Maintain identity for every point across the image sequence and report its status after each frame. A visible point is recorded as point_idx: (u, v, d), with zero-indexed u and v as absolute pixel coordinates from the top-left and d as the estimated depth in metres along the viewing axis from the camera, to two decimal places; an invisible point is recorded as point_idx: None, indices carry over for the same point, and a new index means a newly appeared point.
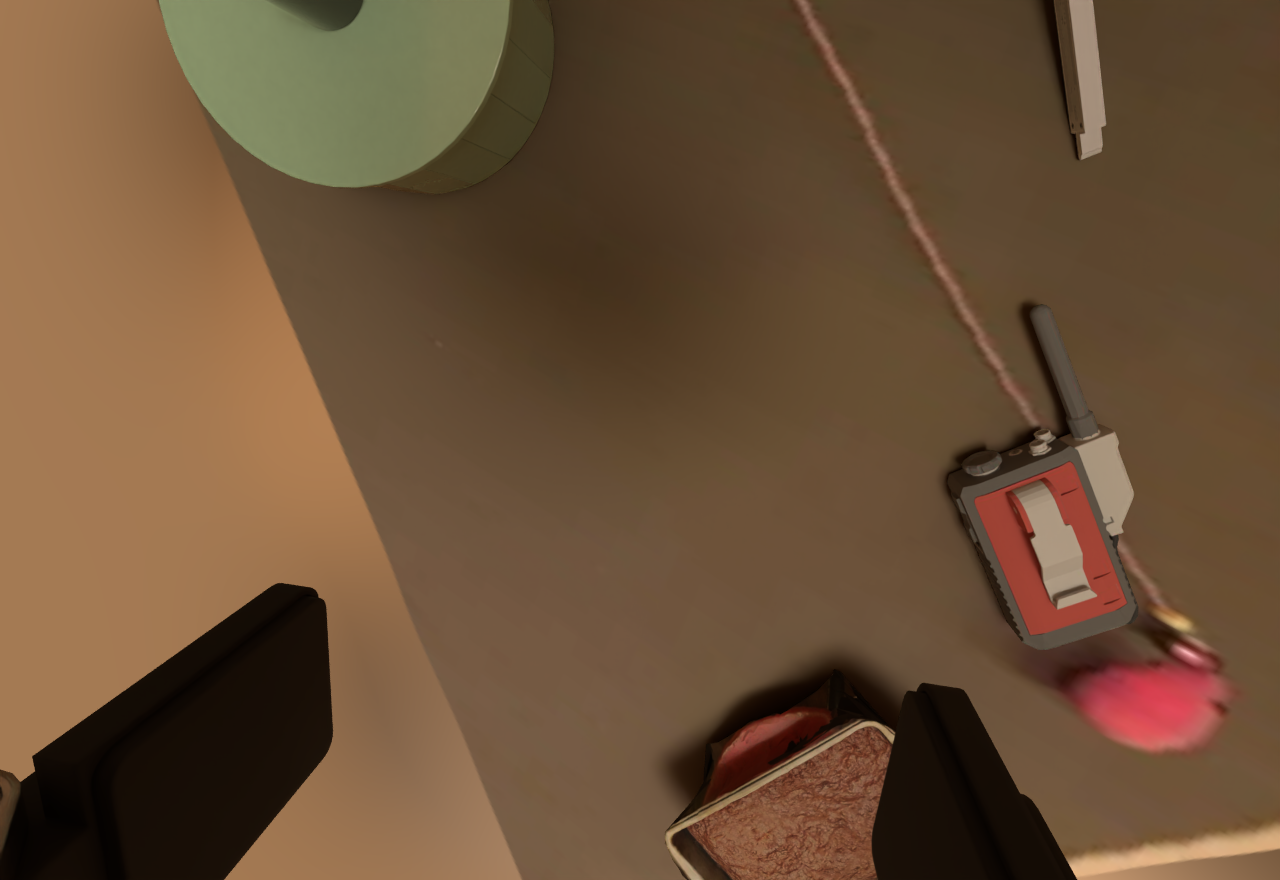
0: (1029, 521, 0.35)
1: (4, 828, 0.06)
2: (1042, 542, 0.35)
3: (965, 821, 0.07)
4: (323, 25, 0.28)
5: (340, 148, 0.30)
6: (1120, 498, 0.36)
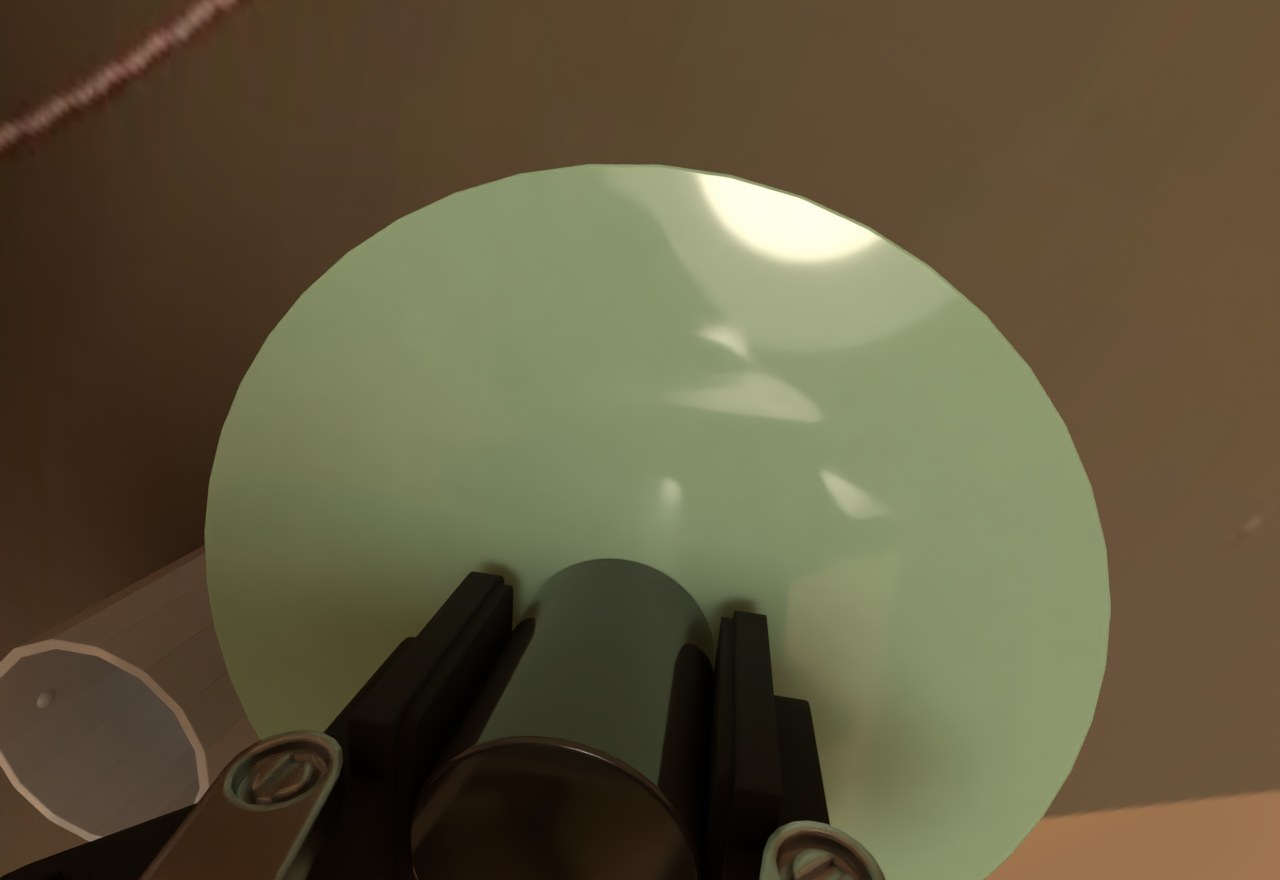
0: None
1: (317, 805, 0.07)
2: None
3: (722, 706, 0.09)
4: (713, 675, 0.11)
5: (994, 688, 0.11)
6: None
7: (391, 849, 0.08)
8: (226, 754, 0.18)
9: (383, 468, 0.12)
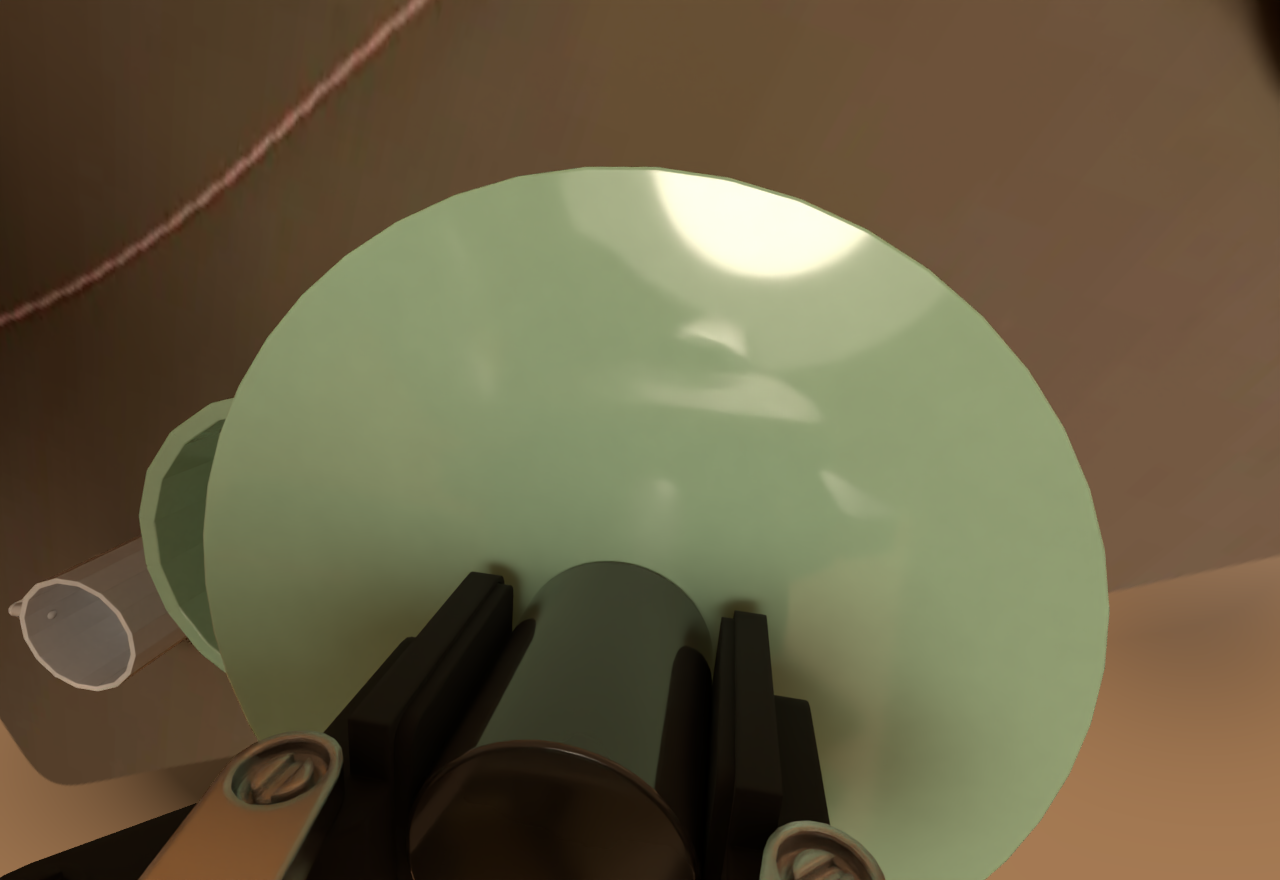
0: None
1: (317, 805, 0.07)
2: None
3: (721, 706, 0.09)
4: (712, 677, 0.11)
5: (993, 691, 0.11)
6: None
7: (391, 848, 0.08)
8: (145, 638, 0.35)
9: (382, 470, 0.12)
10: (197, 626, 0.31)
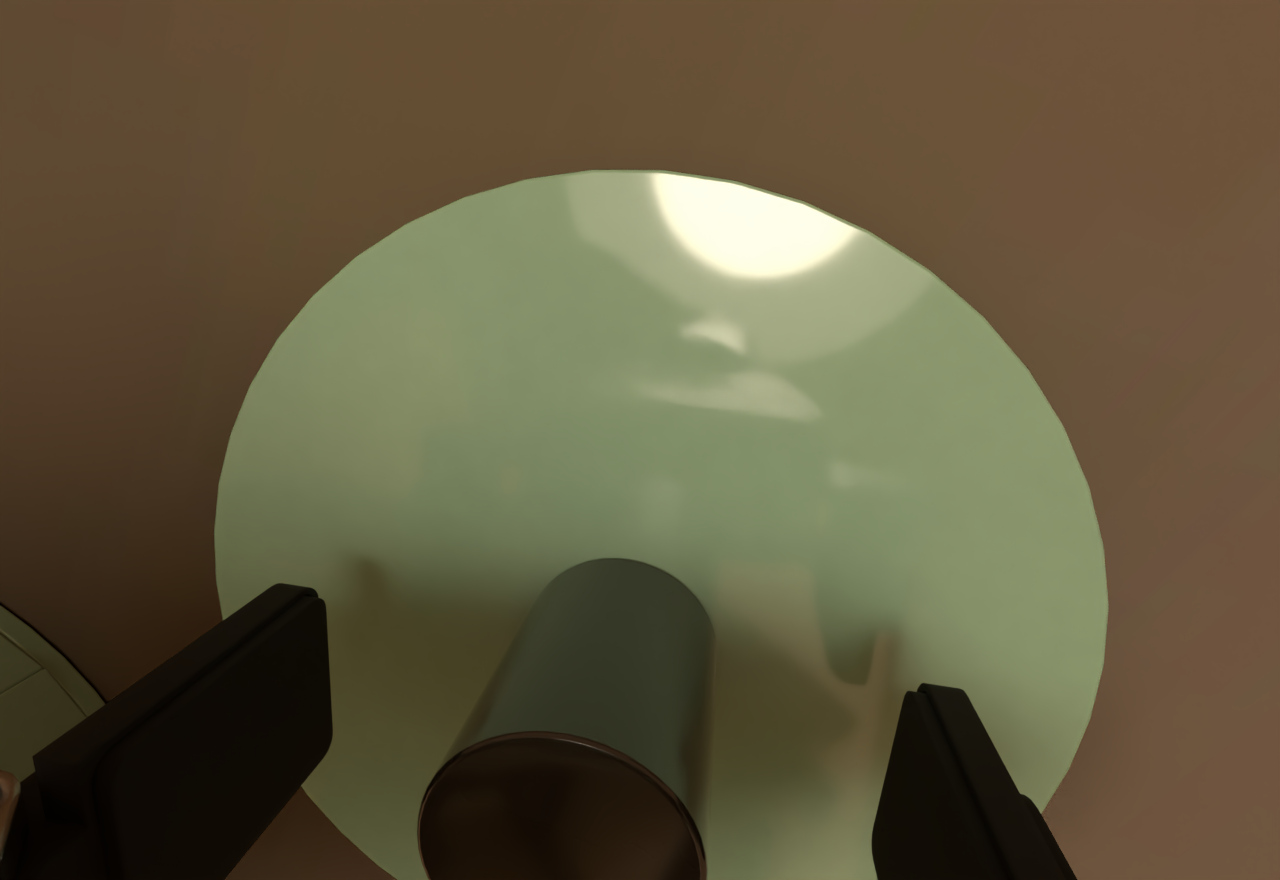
0: None
1: (4, 828, 0.06)
2: None
3: (965, 821, 0.07)
4: (716, 673, 0.11)
5: (993, 686, 0.11)
6: None
7: None
8: None
9: (391, 469, 0.12)
10: None
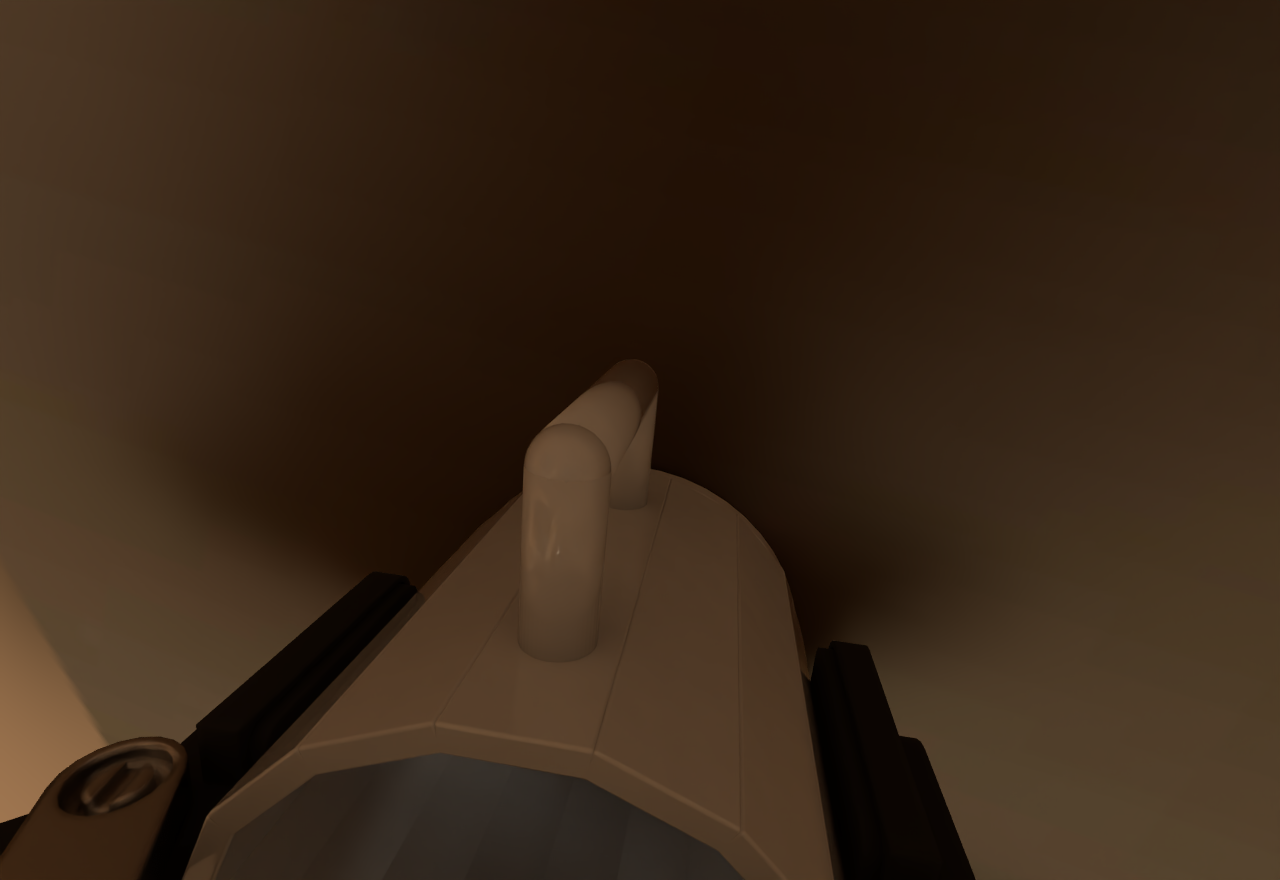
0: None
1: (167, 801, 0.07)
2: None
3: (844, 752, 0.08)
4: None
5: None
6: None
7: None
8: None
9: None
10: None
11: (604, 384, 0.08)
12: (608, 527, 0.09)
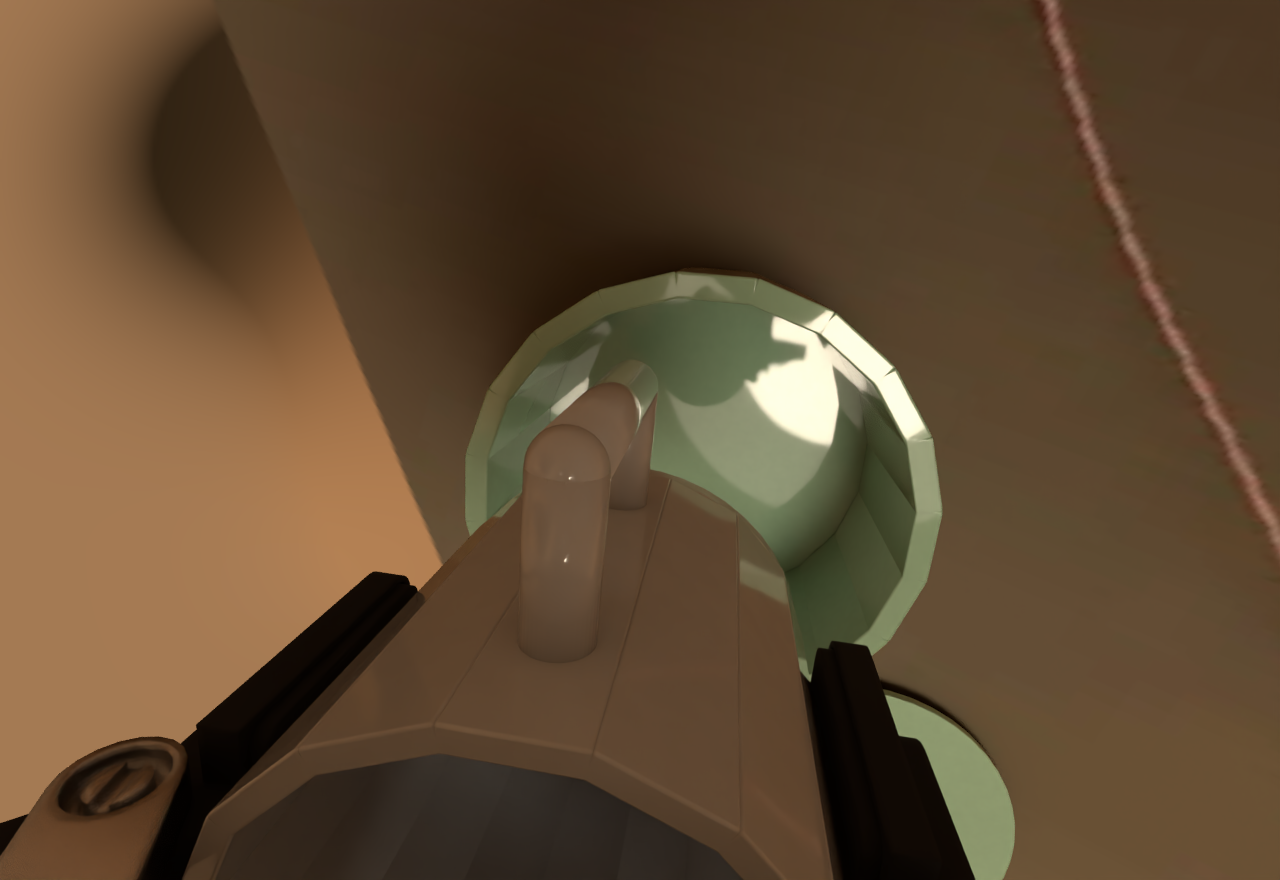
0: None
1: (167, 802, 0.07)
2: None
3: (844, 752, 0.08)
4: None
5: None
6: None
7: None
8: None
9: None
10: (575, 334, 0.21)
11: (604, 385, 0.08)
12: (608, 527, 0.09)
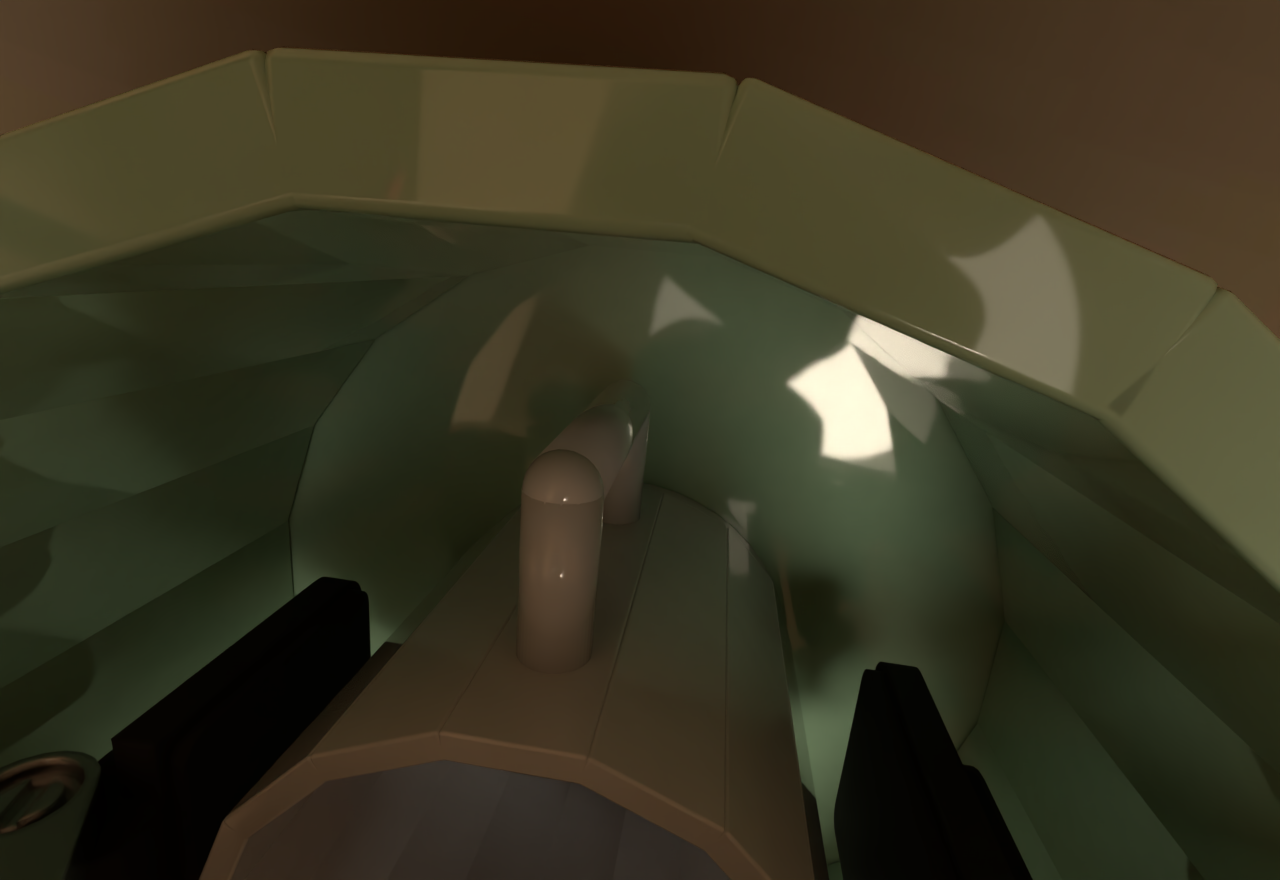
0: None
1: (82, 812, 0.06)
2: None
3: (908, 785, 0.07)
4: None
5: None
6: None
7: (171, 878, 0.07)
8: None
9: None
10: None
11: (598, 407, 0.08)
12: (602, 542, 0.09)
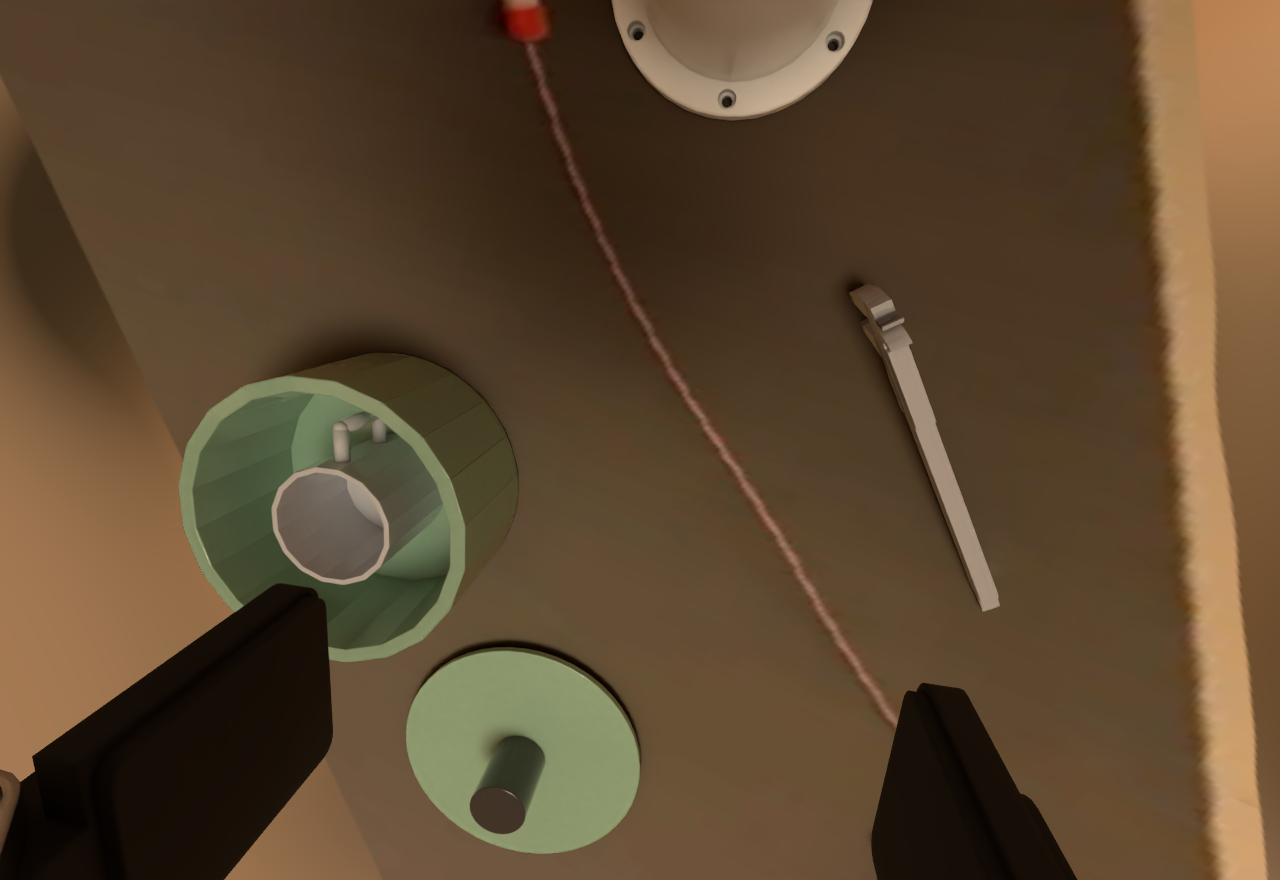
0: None
1: (4, 828, 0.06)
2: None
3: (965, 821, 0.07)
4: None
5: (521, 833, 0.47)
6: None
7: None
8: None
9: (564, 709, 0.43)
10: (235, 411, 0.32)
11: (359, 412, 0.36)
12: (369, 446, 0.38)
